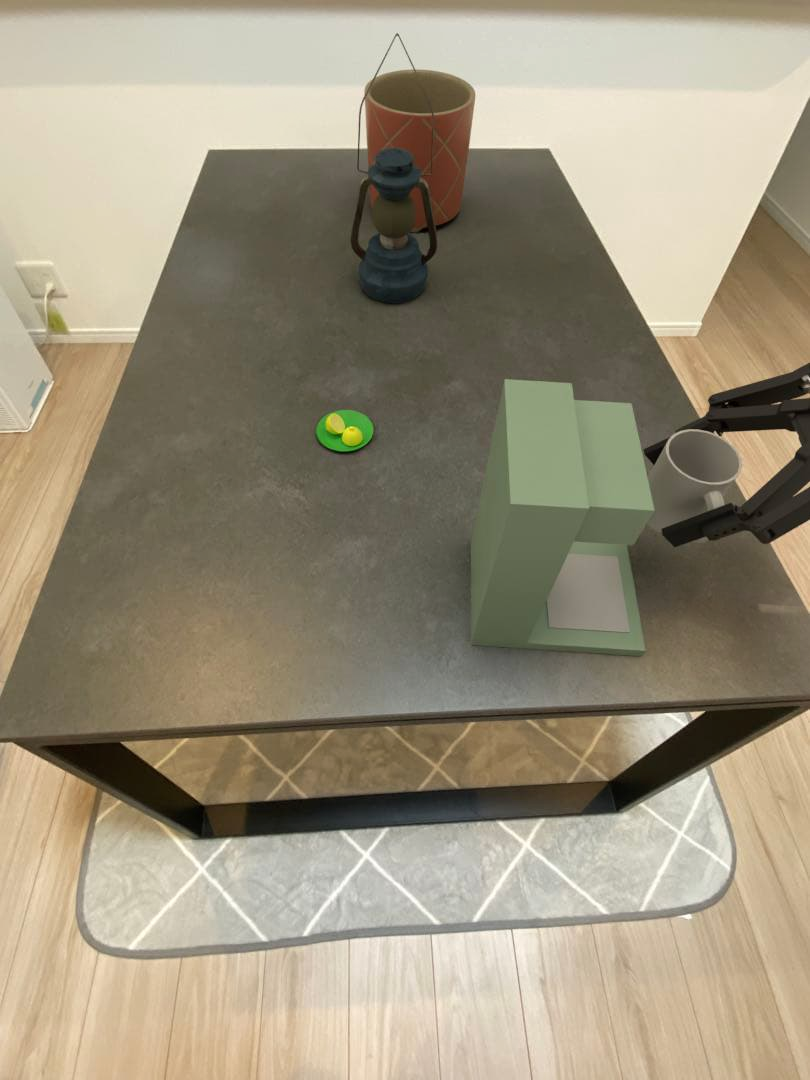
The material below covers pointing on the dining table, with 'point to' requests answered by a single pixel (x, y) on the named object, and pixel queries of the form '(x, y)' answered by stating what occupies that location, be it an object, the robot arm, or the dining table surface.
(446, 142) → the planter
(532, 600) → the coffee maker
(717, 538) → the robot arm
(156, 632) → the dining table surface
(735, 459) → the cup
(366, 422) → the plate with lemons
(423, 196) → the lantern
